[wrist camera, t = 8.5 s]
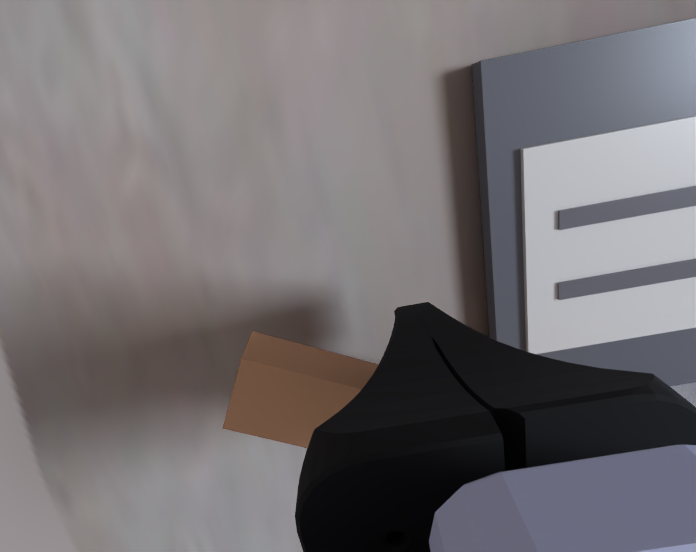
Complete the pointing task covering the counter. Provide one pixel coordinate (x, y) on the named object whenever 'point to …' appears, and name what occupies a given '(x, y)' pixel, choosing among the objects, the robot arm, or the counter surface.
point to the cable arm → (291, 389)
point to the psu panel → (593, 200)
